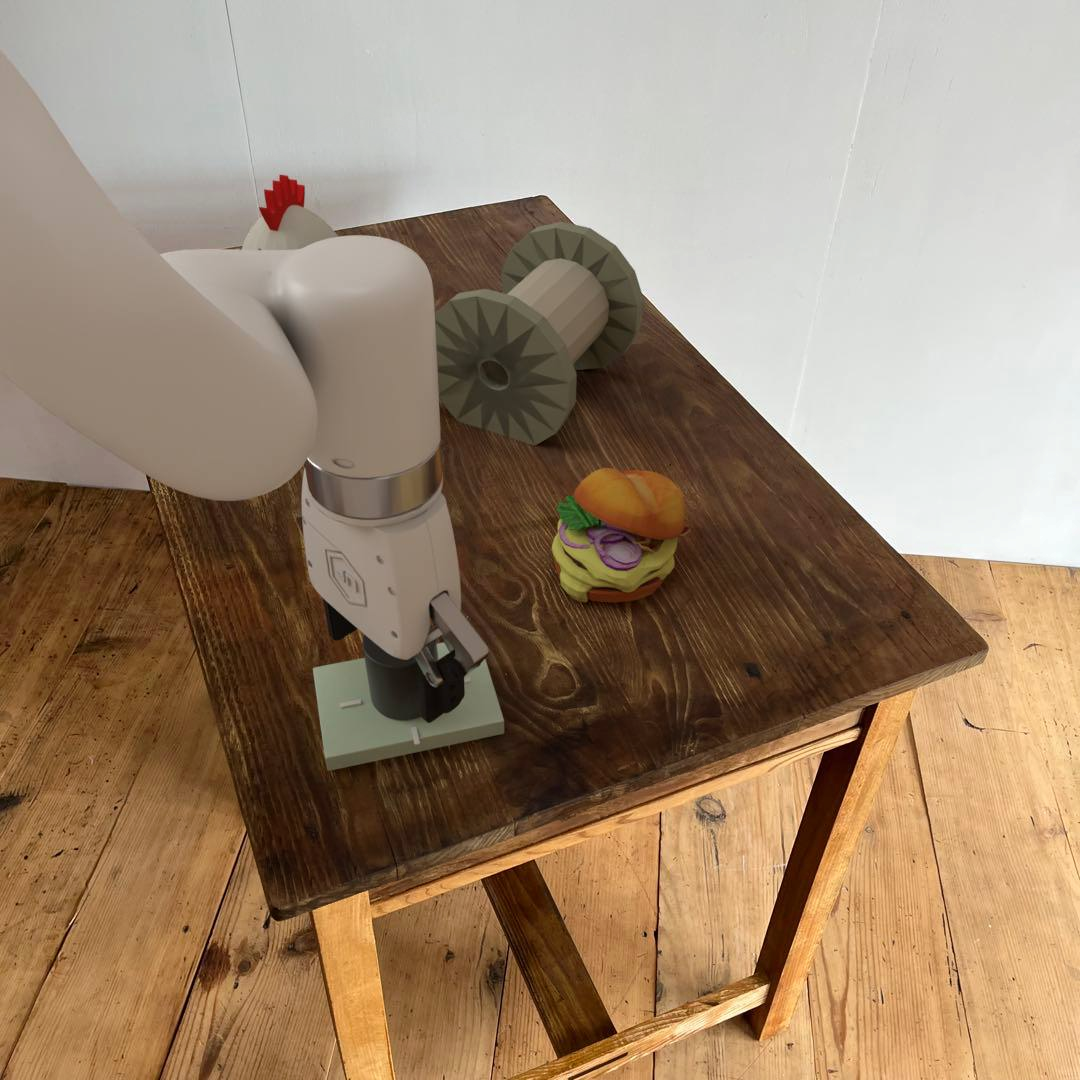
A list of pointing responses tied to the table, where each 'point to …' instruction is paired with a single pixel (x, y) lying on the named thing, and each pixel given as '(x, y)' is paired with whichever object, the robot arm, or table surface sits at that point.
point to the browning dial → (394, 681)
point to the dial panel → (372, 736)
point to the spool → (536, 332)
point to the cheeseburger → (618, 535)
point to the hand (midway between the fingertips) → (395, 667)
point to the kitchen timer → (286, 220)
